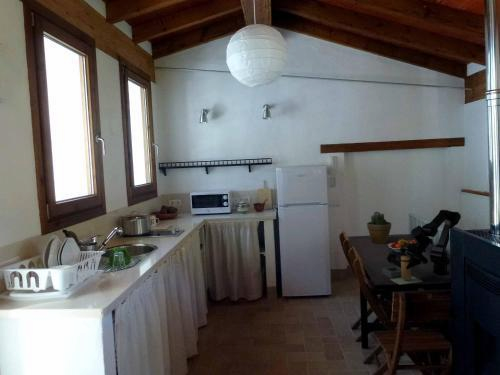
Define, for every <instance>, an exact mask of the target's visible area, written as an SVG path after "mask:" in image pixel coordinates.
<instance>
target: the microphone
mask: <svg viewBox="0 0 500 375" xmlns="http://www.w3.org/2000/svg"><path fill="white" fill-rule="evenodd" d="M386 259H387V262H389V263H392V264H393V265H395V266H397V267H400V268H401V266H400V265H401V262H399V261H398V260H397V257H396V255H395V254H393V253H391V254H388V255H387V257H386Z"/></svg>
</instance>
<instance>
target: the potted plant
mask: <svg viewBox="0 0 500 375" xmlns="http://www.w3.org/2000/svg"><path fill="white" fill-rule="evenodd" d="M370 219H371V221H369V222H367V223H366V226H367V230H368V234H369V236H370V239H371V243H373V244H376V245H383V244H387V243H388V240H389V238H390V237H389V236H390V233H391V229H392V223H391V222H390V221H387V219H386V218H385V214H384V213H381V212H379V211H375V212H374V213H373V214H372V215H371V216H370Z"/></svg>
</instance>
